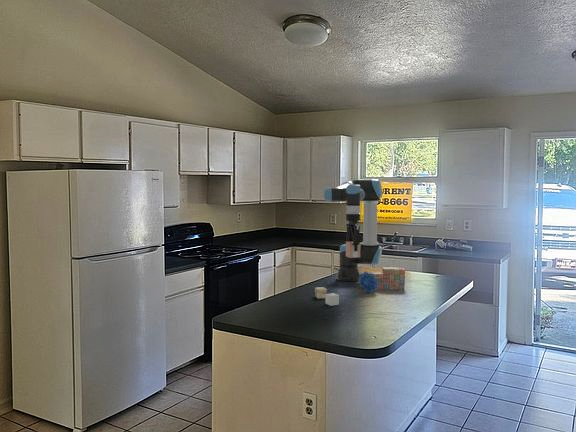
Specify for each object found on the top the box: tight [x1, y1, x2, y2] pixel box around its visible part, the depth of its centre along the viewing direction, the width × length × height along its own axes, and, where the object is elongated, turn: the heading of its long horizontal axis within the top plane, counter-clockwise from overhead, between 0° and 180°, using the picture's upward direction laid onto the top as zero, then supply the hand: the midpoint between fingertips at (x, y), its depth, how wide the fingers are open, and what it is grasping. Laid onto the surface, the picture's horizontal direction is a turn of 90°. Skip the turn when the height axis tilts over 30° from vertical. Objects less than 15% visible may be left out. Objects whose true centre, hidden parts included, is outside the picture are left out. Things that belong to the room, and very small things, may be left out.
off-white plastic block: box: [325, 292, 340, 306], centre depth 259 cm, size 5×5×5 cm
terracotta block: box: [345, 241, 361, 258], centre depth 271 cm, size 6×6×8 cm
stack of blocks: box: [367, 266, 406, 291], centre depth 298 cm, size 21×6×12 cm, turn 86°
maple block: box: [314, 286, 328, 300], centre depth 275 cm, size 5×5×5 cm
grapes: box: [358, 271, 378, 293], centre depth 285 cm, size 12×7×12 cm, turn 62°
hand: (352, 256), depth 271 cm, fingers closed on terracotta block, 6 cm apart
